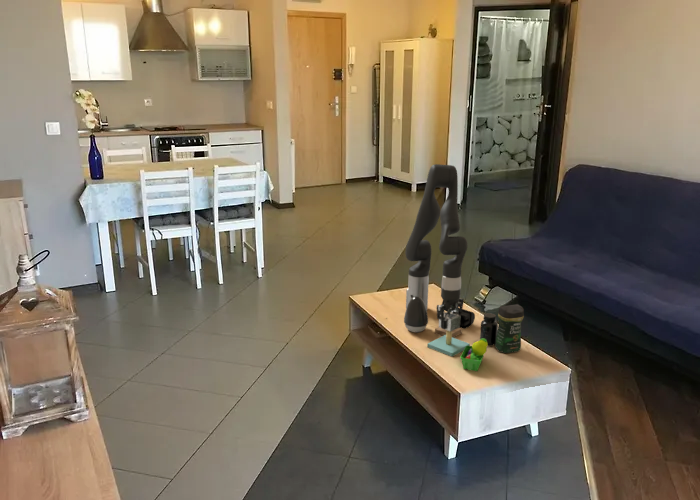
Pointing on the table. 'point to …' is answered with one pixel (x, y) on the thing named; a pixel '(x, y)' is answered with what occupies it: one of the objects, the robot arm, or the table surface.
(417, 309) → the dark grey rounded cone
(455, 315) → the collar
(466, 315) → the end cap
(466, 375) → the table surface
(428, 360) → the table surface
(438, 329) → the stand
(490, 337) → the supplement bottle
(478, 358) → the fruit basket
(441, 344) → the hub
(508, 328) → the coffee jar
